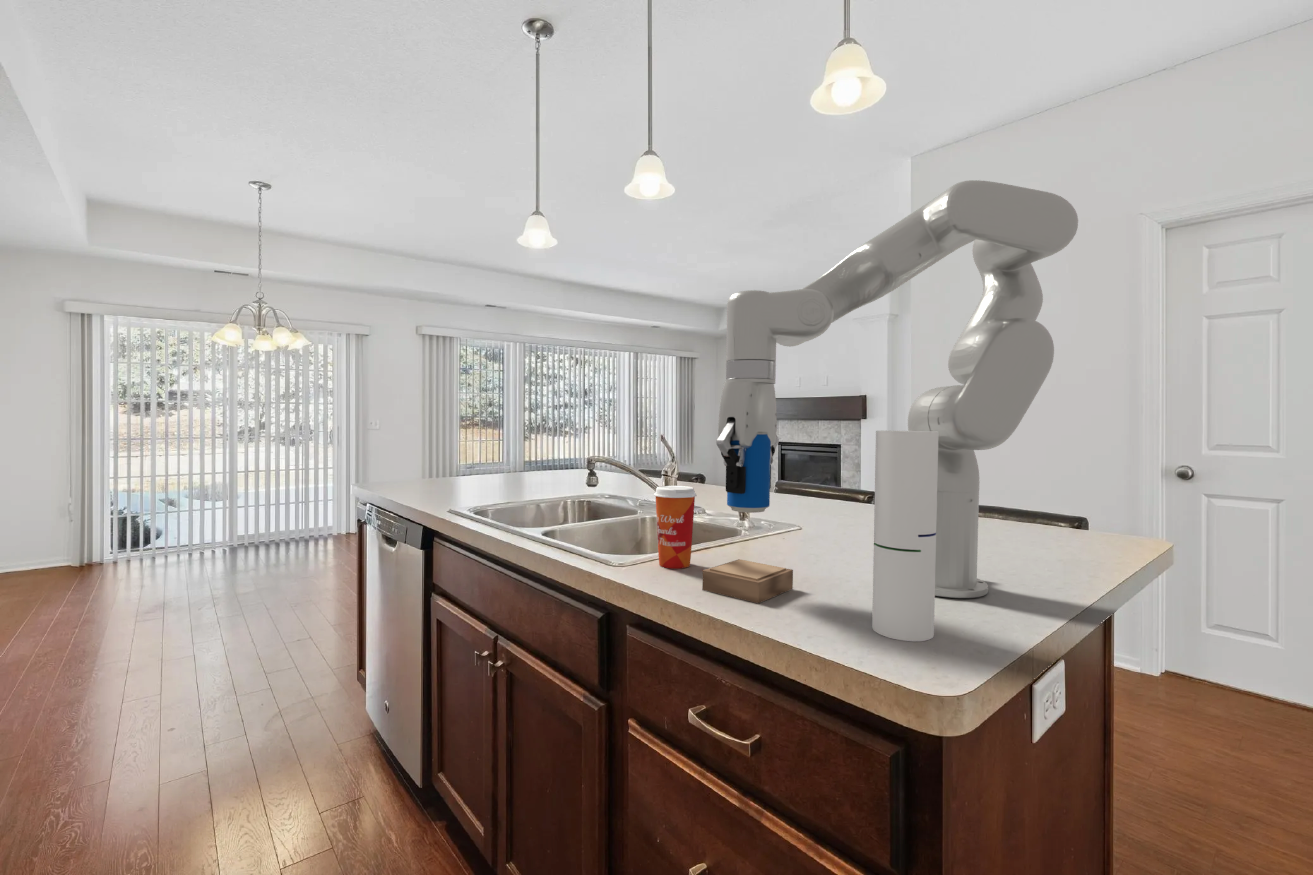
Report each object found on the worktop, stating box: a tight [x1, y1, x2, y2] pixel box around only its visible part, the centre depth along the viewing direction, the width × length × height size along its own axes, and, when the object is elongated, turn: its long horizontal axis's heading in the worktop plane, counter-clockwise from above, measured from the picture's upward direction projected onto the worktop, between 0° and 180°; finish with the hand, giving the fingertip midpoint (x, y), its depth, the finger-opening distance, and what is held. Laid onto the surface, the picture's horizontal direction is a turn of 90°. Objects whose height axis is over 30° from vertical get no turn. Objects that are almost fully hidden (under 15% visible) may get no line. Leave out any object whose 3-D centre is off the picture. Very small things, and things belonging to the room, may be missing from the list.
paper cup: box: [653, 485, 697, 570], centre depth 106 cm, size 8×8×14 cm
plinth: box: [701, 559, 794, 604], centre depth 92 cm, size 10×10×3 cm
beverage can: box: [726, 433, 771, 514], centre depth 91 cm, size 6×6×12 cm
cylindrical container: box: [871, 430, 938, 642], centre depth 74 cm, size 7×7×25 cm
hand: (748, 489), depth 91 cm, fingers closed on beverage can, 6 cm apart
